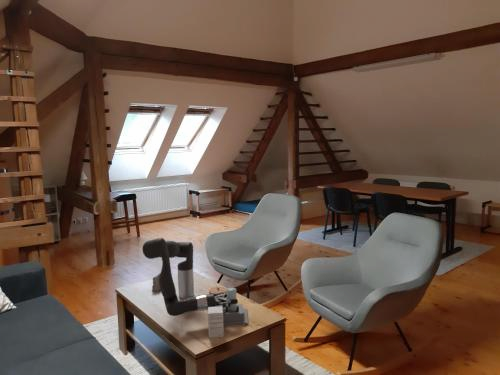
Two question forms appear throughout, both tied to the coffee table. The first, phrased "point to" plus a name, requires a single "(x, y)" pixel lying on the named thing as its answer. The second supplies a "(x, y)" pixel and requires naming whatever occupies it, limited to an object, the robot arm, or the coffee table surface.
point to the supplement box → (215, 322)
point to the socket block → (235, 316)
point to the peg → (230, 296)
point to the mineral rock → (156, 283)
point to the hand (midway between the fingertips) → (235, 297)
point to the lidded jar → (218, 290)
